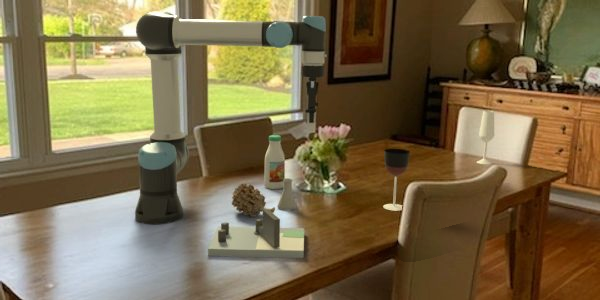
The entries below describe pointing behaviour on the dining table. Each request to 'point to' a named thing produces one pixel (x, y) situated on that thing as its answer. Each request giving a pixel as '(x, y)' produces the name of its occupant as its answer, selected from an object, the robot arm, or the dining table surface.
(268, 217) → the gate
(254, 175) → the dining table surface
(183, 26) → the robot arm
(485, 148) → the champagne flute
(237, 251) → the board
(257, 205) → the pine cone
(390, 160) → the wineglass
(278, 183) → the milk bottle
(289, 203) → the flask
